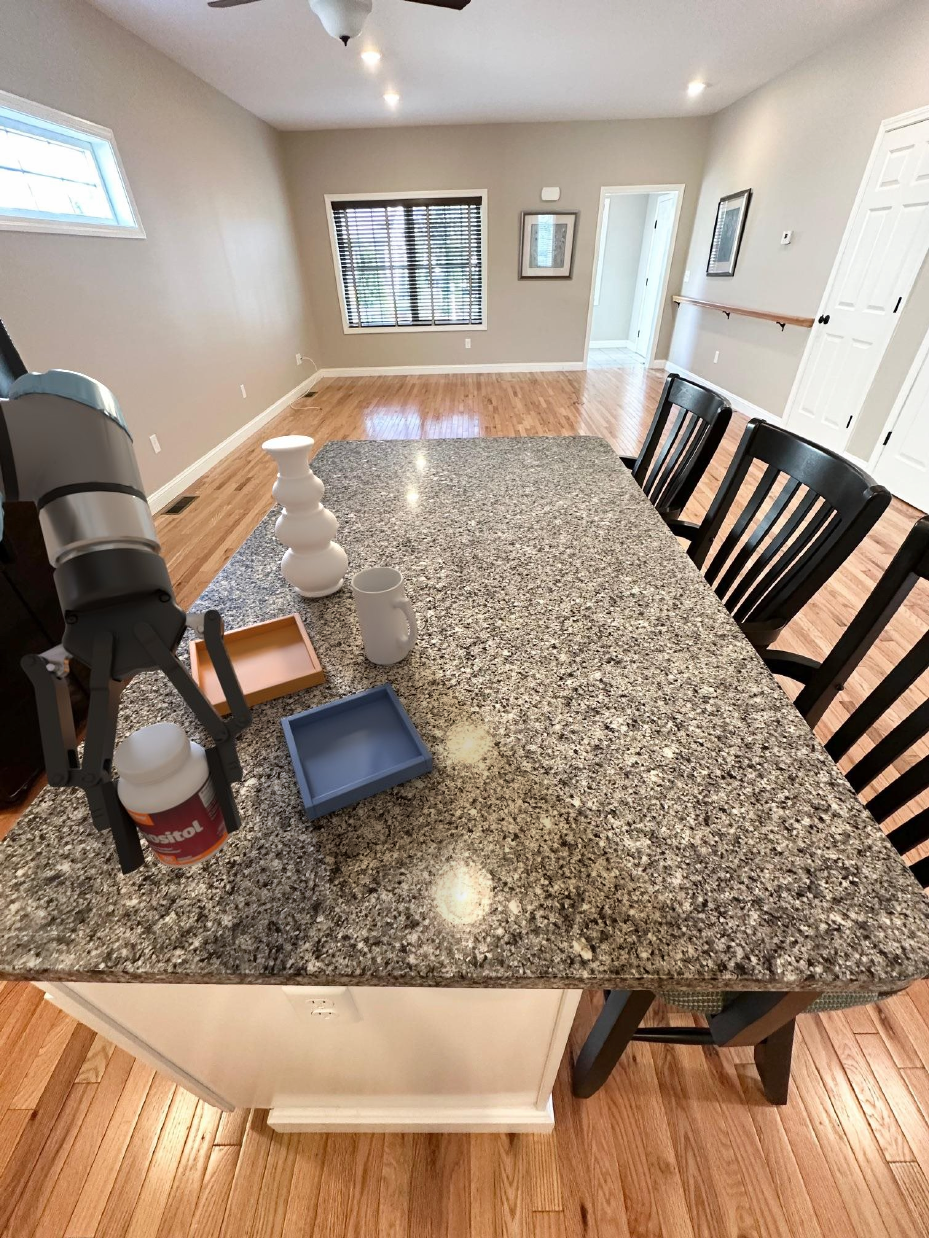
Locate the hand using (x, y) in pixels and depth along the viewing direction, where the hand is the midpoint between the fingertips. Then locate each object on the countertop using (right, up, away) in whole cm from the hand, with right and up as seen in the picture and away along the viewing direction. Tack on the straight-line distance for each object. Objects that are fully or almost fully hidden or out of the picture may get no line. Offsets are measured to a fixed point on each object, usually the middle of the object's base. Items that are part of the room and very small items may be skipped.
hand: (186, 847), depth 38 cm
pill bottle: (-2, -1, +5) cm, 5 cm away
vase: (-4, +22, +51) cm, 56 cm away
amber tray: (-8, +10, +33) cm, 36 cm away
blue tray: (+8, +2, +21) cm, 22 cm away
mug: (+11, +12, +35) cm, 38 cm away
